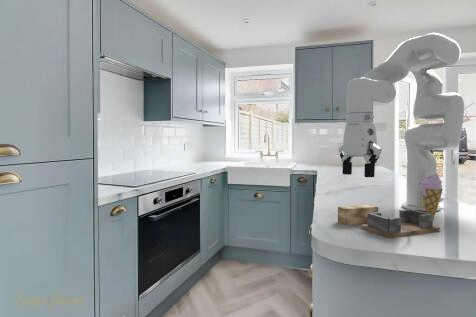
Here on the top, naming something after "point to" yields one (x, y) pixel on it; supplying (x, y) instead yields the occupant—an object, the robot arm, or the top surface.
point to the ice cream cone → (431, 192)
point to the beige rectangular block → (355, 214)
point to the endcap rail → (401, 224)
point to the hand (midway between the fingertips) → (357, 175)
